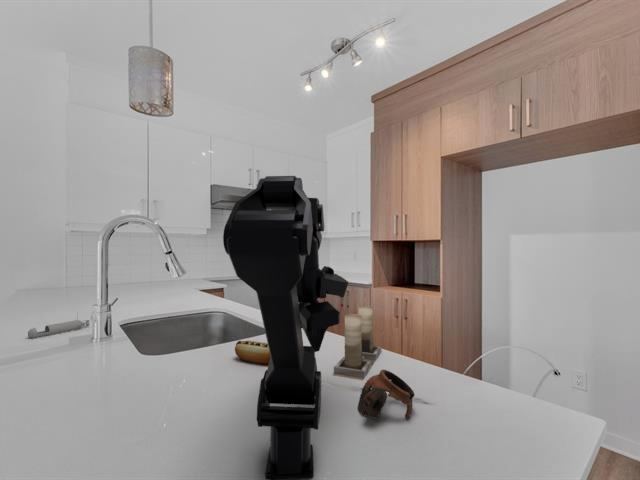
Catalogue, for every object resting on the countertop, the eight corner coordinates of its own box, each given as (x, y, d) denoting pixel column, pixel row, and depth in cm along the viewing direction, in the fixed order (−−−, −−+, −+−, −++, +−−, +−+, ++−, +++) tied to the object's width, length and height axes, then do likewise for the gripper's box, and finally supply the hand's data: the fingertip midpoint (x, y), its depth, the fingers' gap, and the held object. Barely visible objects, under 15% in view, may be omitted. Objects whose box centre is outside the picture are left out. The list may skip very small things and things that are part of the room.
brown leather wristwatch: (364, 397, 66) (384, 363, 66) (403, 432, 61) (425, 395, 61) (339, 407, 56) (363, 367, 56) (383, 449, 51) (409, 406, 51)
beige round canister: (358, 374, 73) (358, 318, 74) (342, 372, 75) (342, 316, 75) (363, 367, 78) (363, 314, 78) (348, 365, 79) (348, 312, 79)
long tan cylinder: (370, 358, 84) (370, 308, 84) (356, 356, 86) (356, 307, 86) (374, 352, 88) (374, 305, 88) (360, 350, 90) (360, 304, 90)
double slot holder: (362, 385, 70) (362, 373, 71) (332, 380, 73) (332, 368, 73) (382, 355, 90) (382, 345, 90) (357, 351, 93) (357, 342, 93)
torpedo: (31, 340, 104) (31, 320, 104) (25, 338, 106) (25, 319, 106) (92, 328, 119) (92, 310, 120) (86, 326, 122) (86, 309, 122)
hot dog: (272, 369, 80) (273, 349, 80) (230, 361, 85) (230, 342, 85) (282, 362, 85) (283, 343, 85) (241, 355, 90) (242, 337, 90)
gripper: (366, 273, 54) (366, 353, 58) (323, 247, 71) (325, 311, 75) (305, 285, 50) (310, 370, 54) (274, 254, 67) (280, 321, 71)
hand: (307, 338), depth 64 cm, fingers open, 9 cm apart
